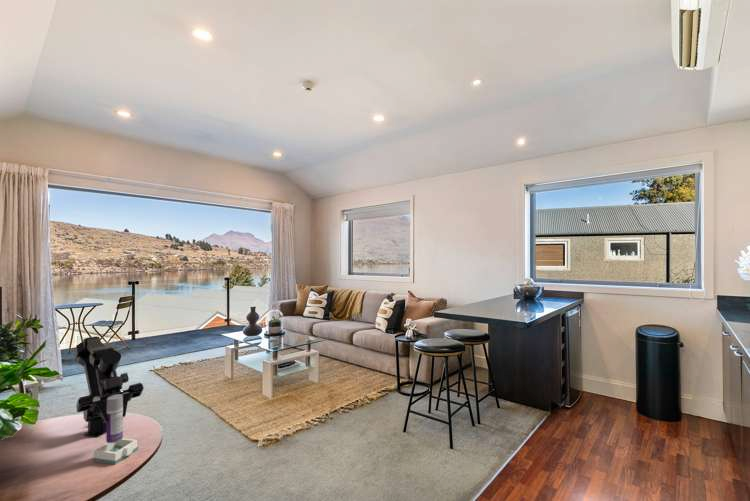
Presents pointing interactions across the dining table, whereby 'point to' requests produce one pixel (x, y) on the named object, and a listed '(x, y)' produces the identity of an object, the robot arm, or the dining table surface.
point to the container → (114, 418)
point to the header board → (115, 451)
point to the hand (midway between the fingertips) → (115, 419)
